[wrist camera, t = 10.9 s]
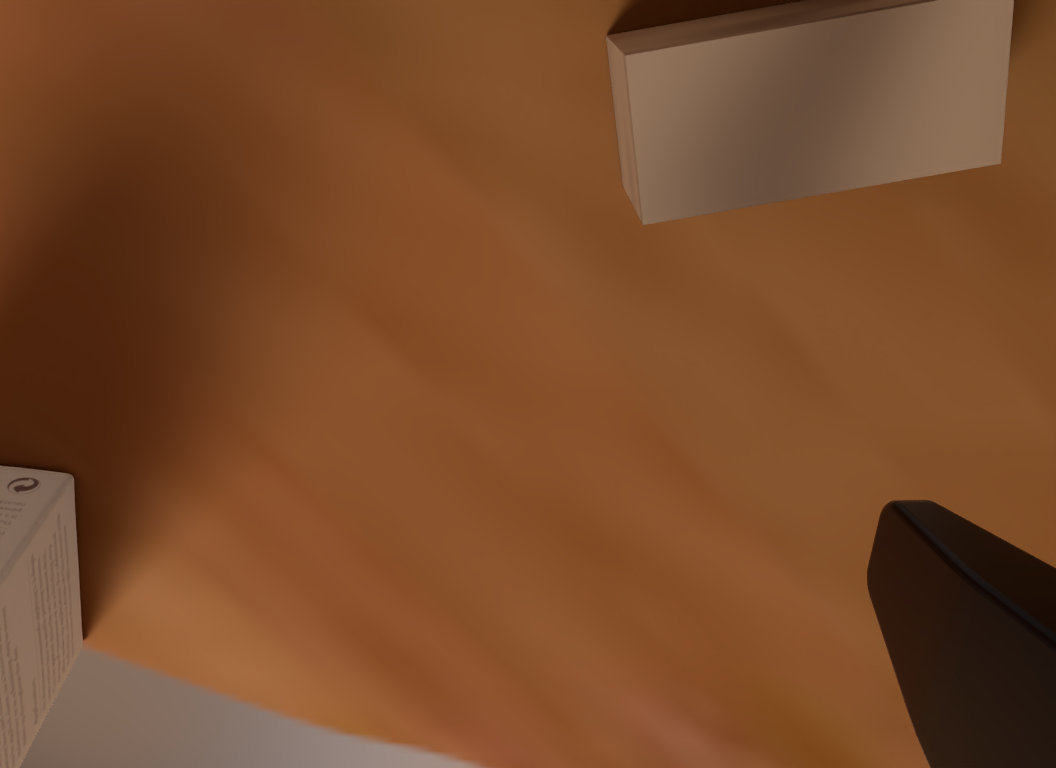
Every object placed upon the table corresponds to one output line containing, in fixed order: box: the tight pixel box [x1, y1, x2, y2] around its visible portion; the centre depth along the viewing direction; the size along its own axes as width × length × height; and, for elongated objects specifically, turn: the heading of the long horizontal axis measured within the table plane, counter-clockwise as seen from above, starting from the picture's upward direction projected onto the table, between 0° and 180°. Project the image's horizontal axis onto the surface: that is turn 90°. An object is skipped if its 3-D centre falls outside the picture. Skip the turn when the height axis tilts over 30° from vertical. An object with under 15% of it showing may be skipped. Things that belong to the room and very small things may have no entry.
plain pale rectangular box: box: [606, 0, 1014, 225], centre depth 19 cm, size 7×3×3 cm, turn 99°
